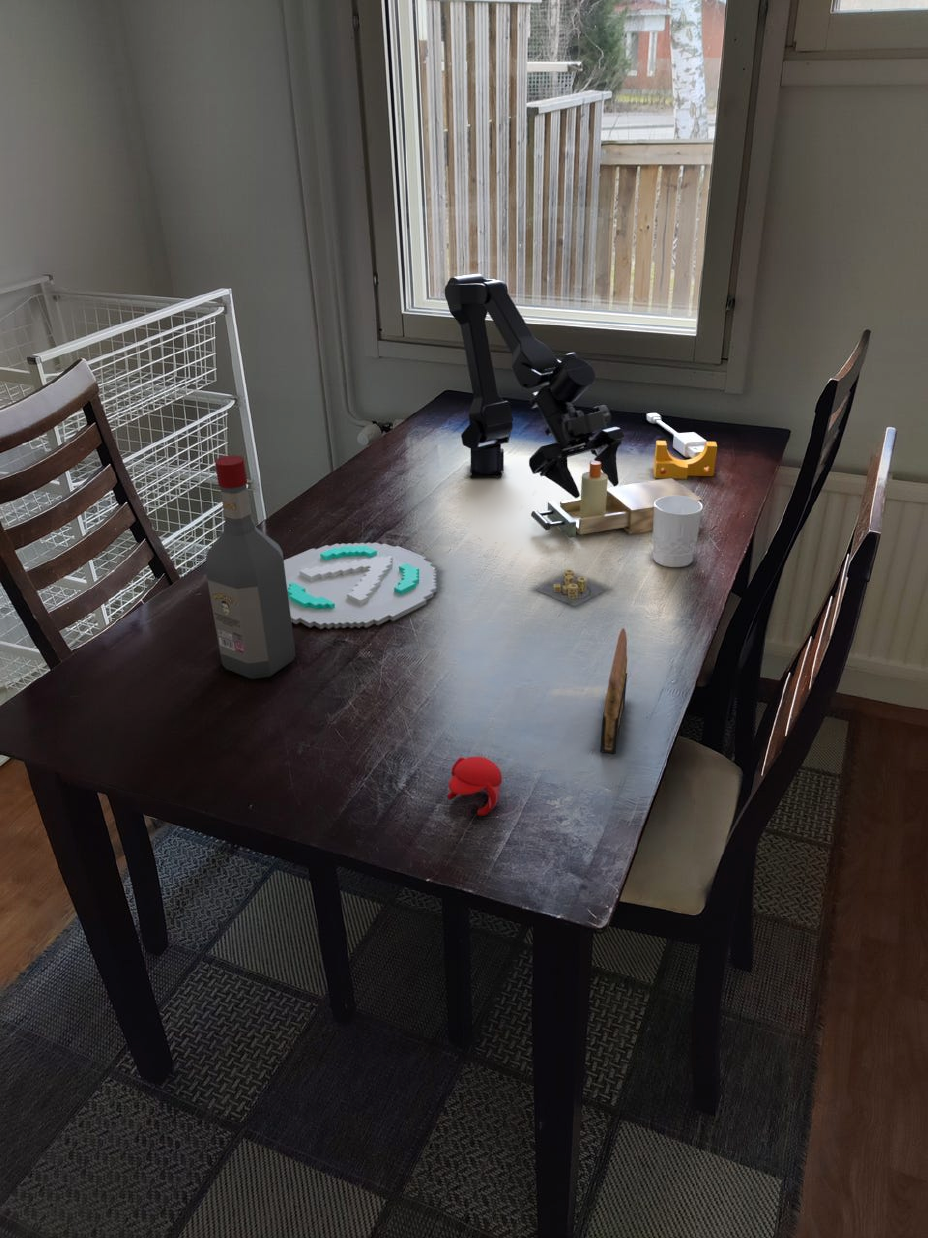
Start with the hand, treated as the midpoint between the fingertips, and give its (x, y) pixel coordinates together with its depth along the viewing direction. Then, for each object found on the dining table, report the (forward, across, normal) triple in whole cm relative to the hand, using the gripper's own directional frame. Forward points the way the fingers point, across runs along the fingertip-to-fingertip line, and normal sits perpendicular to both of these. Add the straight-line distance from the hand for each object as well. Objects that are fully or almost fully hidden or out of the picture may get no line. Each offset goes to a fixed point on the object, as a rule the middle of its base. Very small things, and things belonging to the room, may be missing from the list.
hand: (597, 491), depth 165 cm
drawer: (+3, -2, +6) cm, 7 cm away
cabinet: (+7, +12, +4) cm, 14 cm away
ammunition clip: (+38, -39, -28) cm, 61 cm away
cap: (+39, -61, -28) cm, 78 cm away
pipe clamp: (-1, +32, +12) cm, 34 cm away
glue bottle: (+3, 0, +4) cm, 5 cm away
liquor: (+9, -69, +1) cm, 69 cm away
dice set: (+16, -19, -6) cm, 26 cm away
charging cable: (-12, +46, +23) cm, 53 cm away
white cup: (+18, +2, -7) cm, 19 cm away
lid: (0, -47, +10) cm, 48 cm away
